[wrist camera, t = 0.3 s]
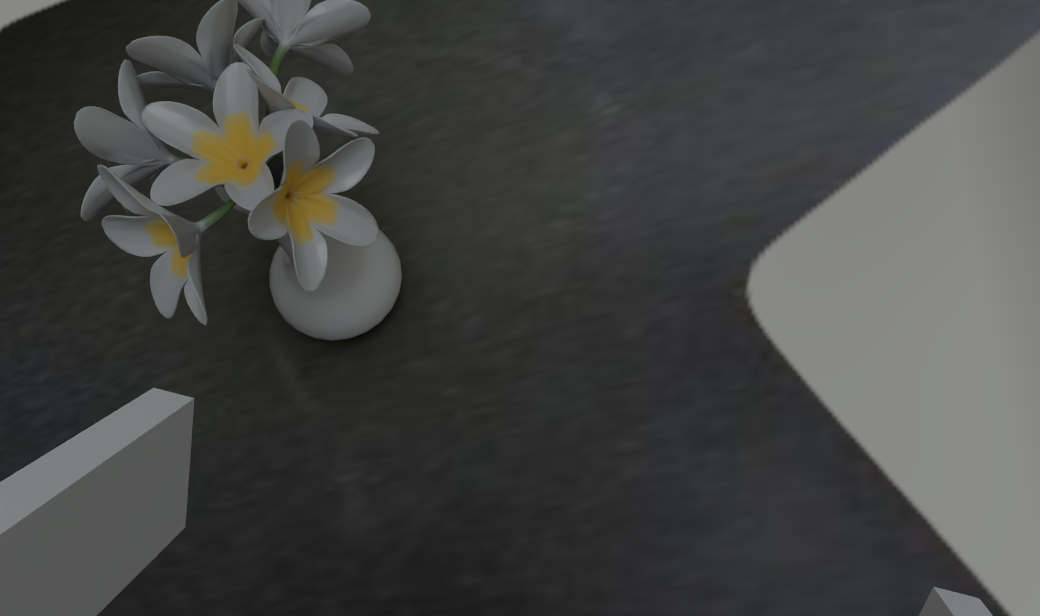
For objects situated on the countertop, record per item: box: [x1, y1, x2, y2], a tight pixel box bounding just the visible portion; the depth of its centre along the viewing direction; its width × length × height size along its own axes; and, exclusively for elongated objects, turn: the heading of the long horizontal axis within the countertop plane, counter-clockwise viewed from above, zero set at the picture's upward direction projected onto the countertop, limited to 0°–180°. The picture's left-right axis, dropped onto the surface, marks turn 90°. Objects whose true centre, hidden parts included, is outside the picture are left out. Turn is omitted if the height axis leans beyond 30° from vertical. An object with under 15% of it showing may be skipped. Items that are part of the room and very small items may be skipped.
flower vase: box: [74, 0, 402, 341], centre depth 39 cm, size 13×18×25 cm
